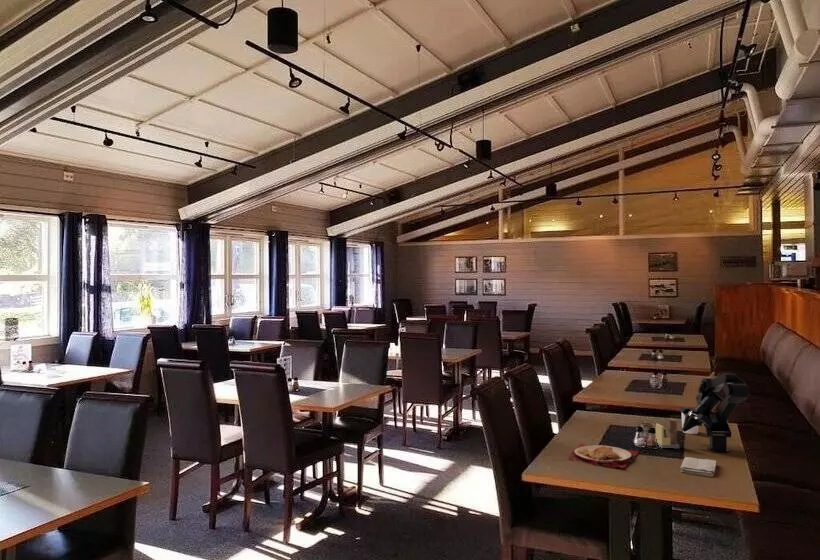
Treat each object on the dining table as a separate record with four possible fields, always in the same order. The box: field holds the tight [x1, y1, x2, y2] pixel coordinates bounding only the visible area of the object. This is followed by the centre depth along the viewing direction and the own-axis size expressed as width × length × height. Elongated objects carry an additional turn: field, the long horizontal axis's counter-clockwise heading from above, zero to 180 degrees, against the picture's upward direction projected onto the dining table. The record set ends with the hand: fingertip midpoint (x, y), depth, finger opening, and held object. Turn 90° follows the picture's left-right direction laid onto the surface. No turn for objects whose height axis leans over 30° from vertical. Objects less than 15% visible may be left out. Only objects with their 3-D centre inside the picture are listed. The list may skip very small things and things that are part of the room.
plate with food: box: [564, 443, 639, 469], centre depth 257 cm, size 25×26×4 cm
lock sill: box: [655, 422, 680, 449], centre depth 272 cm, size 8×6×10 cm
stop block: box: [665, 417, 678, 444], centre depth 272 cm, size 3×4×10 cm
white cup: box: [680, 411, 700, 435], centre depth 298 cm, size 8×8×10 cm
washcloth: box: [680, 456, 717, 478], centre depth 241 cm, size 12×18×3 cm, turn 152°
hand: (683, 431), depth 273 cm, fingers closed
